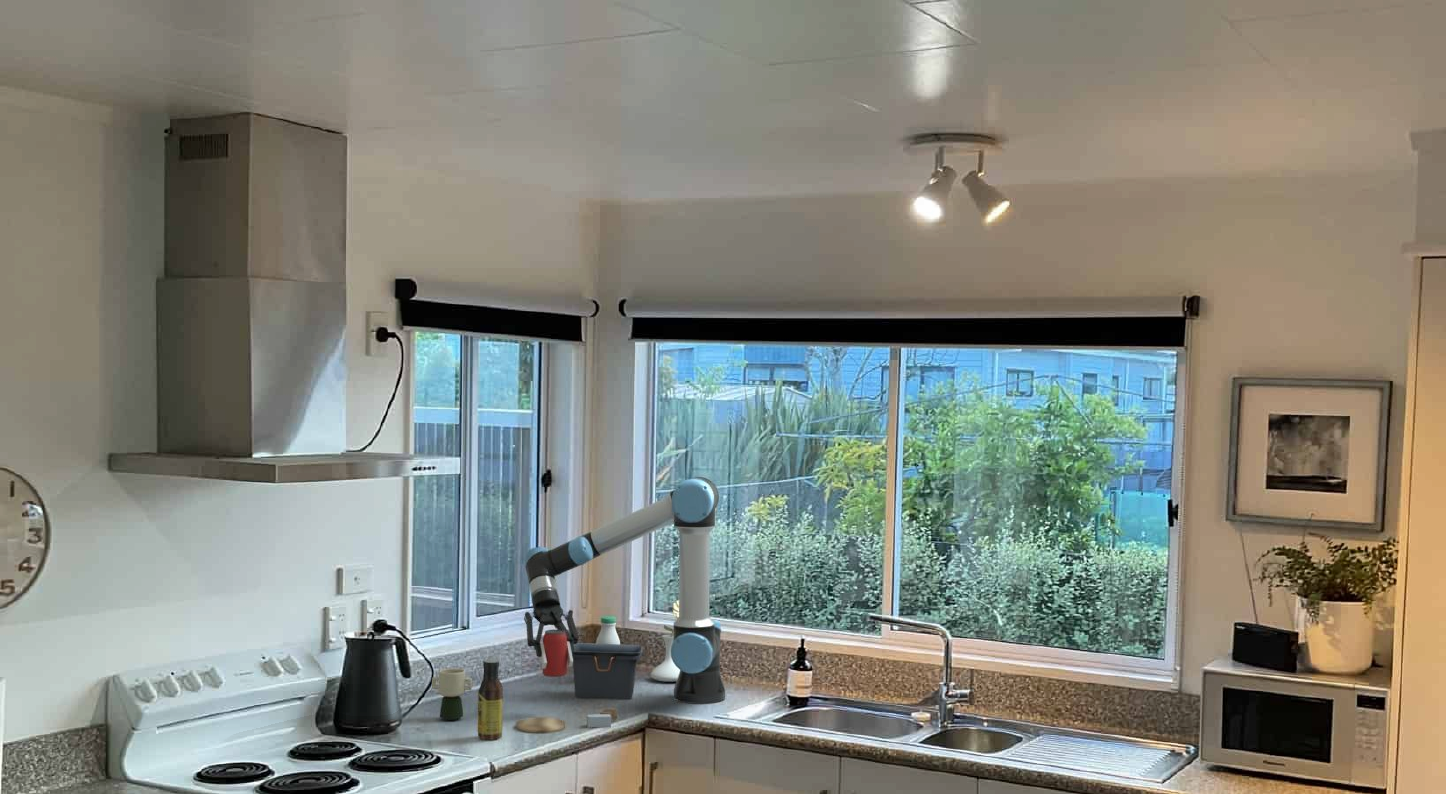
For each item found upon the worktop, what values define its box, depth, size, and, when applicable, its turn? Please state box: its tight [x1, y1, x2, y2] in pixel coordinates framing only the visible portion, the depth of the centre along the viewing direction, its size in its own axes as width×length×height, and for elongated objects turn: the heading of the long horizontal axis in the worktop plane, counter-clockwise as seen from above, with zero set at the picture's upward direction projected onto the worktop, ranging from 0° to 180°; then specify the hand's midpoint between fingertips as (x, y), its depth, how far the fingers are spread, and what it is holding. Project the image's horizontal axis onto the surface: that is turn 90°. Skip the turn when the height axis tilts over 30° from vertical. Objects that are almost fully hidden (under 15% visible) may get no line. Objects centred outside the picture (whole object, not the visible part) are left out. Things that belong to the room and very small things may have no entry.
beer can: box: [542, 629, 568, 678], centre depth 374 cm, size 7×7×12 cm
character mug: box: [431, 667, 473, 721], centre depth 369 cm, size 11×7×13 cm, turn 87°
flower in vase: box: [650, 599, 680, 683], centre depth 425 cm, size 13×11×25 cm
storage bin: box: [572, 642, 644, 700], centre depth 400 cm, size 21×16×14 cm
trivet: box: [515, 717, 567, 734], centre depth 362 cm, size 13×13×1 cm
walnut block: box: [599, 707, 618, 724], centre depth 371 cm, size 6×3×3 cm, turn 167°
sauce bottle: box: [477, 658, 504, 741], centre depth 349 cm, size 7×6×20 cm
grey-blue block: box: [586, 713, 612, 729], centre depth 364 cm, size 6×3×3 cm, turn 102°
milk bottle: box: [595, 615, 621, 644], centre depth 420 cm, size 8×8×20 cm
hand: (557, 664), depth 371 cm, fingers closed on beer can, 6 cm apart
